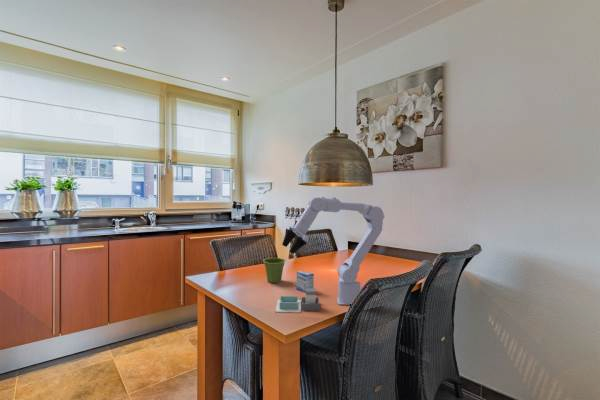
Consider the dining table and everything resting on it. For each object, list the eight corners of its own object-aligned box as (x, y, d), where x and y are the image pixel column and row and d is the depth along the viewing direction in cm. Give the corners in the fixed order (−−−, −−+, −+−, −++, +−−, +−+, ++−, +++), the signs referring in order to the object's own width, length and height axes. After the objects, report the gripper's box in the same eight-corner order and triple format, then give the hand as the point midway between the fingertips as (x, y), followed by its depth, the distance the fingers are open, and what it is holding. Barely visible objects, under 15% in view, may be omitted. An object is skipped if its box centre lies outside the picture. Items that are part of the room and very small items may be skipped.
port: (300, 300, 132) (300, 294, 132) (300, 312, 119) (300, 305, 119) (277, 300, 132) (277, 293, 132) (275, 312, 119) (275, 305, 119)
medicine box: (295, 289, 148) (296, 271, 148) (302, 287, 151) (302, 270, 151) (307, 293, 142) (307, 275, 142) (313, 291, 145) (314, 273, 145)
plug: (314, 304, 128) (315, 288, 127) (315, 308, 124) (315, 291, 123) (305, 304, 128) (305, 288, 127) (305, 308, 124) (305, 291, 123)
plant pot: (258, 282, 158) (258, 261, 158) (271, 277, 168) (271, 257, 168) (277, 286, 152) (278, 263, 152) (289, 280, 163) (289, 259, 163)
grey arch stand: (318, 303, 130) (318, 297, 130) (319, 310, 121) (319, 304, 121) (301, 302, 130) (301, 297, 130) (301, 310, 121) (301, 304, 121)
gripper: (290, 213, 133) (274, 239, 132) (306, 223, 120) (287, 252, 120) (302, 220, 136) (285, 245, 136) (318, 230, 124) (300, 258, 123)
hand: (287, 249), depth 128 cm, fingers open, 7 cm apart
